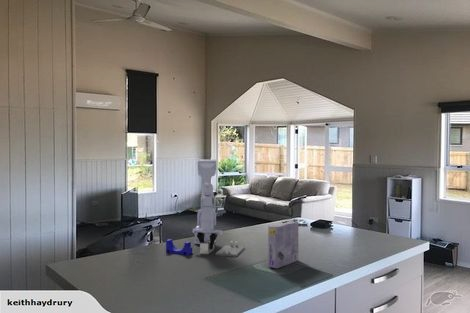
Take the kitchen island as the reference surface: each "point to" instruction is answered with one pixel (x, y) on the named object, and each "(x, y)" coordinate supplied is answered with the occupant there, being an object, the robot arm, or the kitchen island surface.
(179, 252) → the cable clip
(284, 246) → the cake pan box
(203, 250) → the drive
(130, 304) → the kitchen island surface
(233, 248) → the pin tray
